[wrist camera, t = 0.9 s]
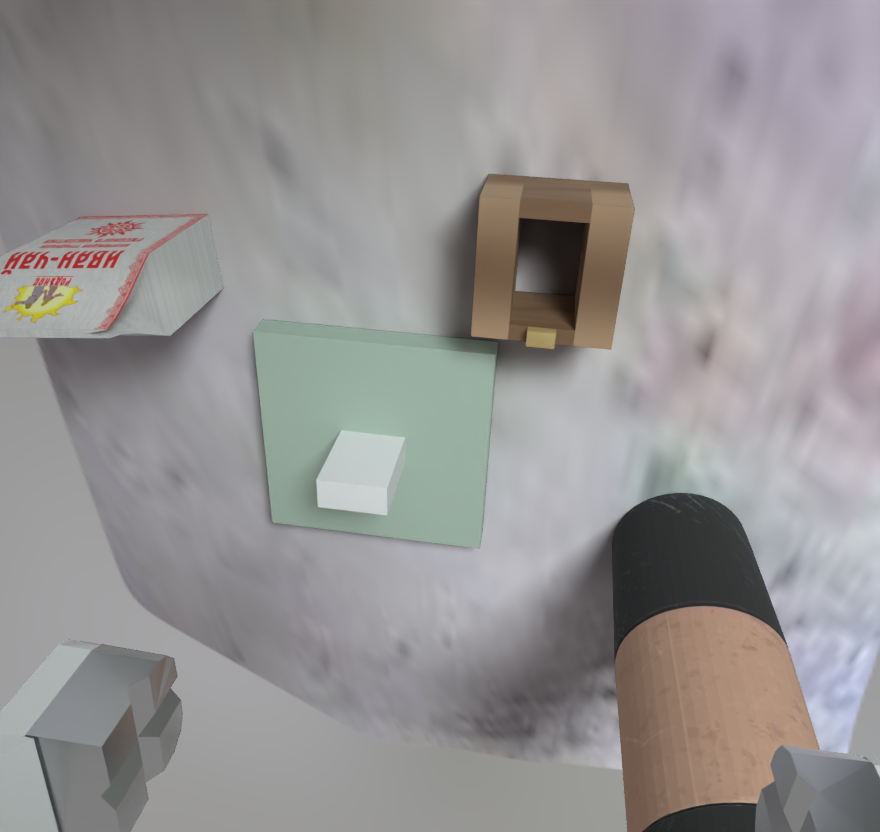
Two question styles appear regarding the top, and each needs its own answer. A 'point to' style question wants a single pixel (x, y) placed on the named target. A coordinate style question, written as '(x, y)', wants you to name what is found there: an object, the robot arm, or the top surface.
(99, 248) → the white boxy piece
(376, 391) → the base
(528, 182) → the open wooden frame
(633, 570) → the travel mug
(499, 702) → the top surface
